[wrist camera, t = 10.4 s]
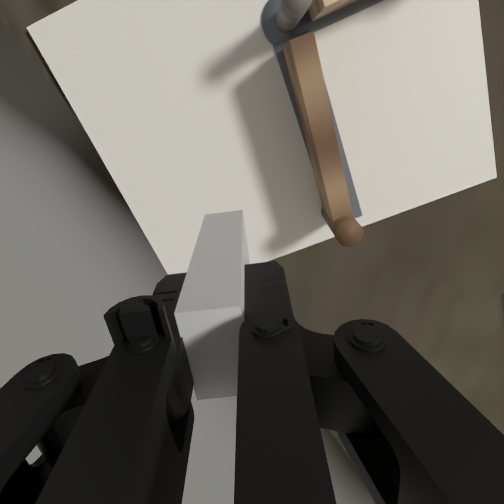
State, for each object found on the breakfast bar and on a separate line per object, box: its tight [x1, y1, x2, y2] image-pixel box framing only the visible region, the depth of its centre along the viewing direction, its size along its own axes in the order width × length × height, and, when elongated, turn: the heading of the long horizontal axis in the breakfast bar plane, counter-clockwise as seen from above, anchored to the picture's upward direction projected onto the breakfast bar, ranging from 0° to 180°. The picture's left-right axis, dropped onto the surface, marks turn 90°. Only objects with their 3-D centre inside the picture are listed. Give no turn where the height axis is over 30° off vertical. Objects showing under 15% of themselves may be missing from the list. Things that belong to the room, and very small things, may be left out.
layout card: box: [26, 0, 497, 275], centre depth 25 cm, size 22×28×1 cm
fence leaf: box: [283, 31, 364, 247], centre depth 23 cm, size 13×2×5 cm, turn 18°
